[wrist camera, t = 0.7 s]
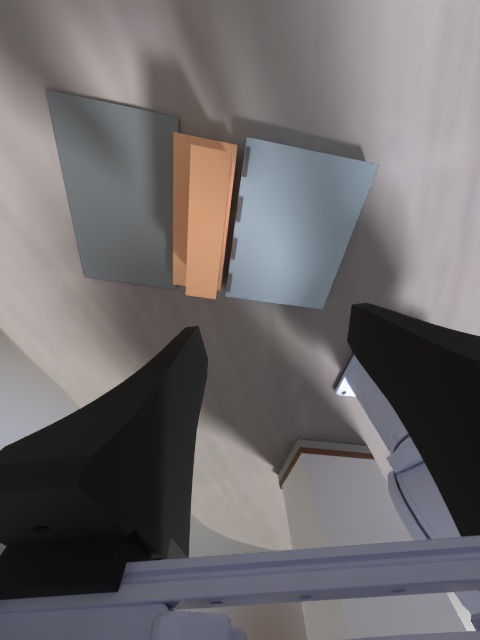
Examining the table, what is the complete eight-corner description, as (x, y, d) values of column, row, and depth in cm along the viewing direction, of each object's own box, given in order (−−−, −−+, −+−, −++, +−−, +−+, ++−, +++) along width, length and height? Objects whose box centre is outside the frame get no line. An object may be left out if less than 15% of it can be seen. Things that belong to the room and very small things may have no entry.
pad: (179, 118, 14) (178, 117, 14) (177, 288, 20) (176, 289, 20) (47, 90, 13) (45, 89, 13) (85, 276, 19) (84, 277, 19)
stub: (237, 148, 15) (238, 127, 10) (220, 285, 20) (216, 312, 15) (177, 136, 14) (151, 108, 10) (176, 279, 19) (158, 305, 15)
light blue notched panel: (367, 166, 16) (379, 164, 14) (317, 303, 21) (323, 310, 20) (245, 141, 15) (246, 136, 13) (225, 290, 20) (225, 297, 19)
